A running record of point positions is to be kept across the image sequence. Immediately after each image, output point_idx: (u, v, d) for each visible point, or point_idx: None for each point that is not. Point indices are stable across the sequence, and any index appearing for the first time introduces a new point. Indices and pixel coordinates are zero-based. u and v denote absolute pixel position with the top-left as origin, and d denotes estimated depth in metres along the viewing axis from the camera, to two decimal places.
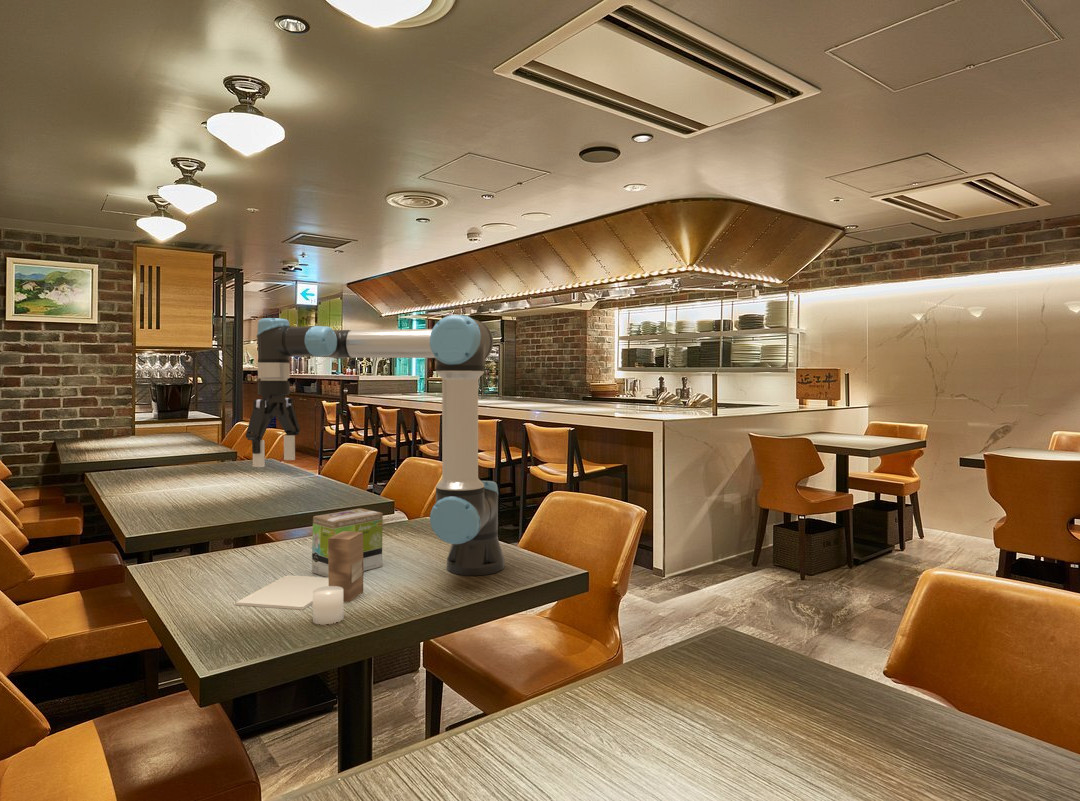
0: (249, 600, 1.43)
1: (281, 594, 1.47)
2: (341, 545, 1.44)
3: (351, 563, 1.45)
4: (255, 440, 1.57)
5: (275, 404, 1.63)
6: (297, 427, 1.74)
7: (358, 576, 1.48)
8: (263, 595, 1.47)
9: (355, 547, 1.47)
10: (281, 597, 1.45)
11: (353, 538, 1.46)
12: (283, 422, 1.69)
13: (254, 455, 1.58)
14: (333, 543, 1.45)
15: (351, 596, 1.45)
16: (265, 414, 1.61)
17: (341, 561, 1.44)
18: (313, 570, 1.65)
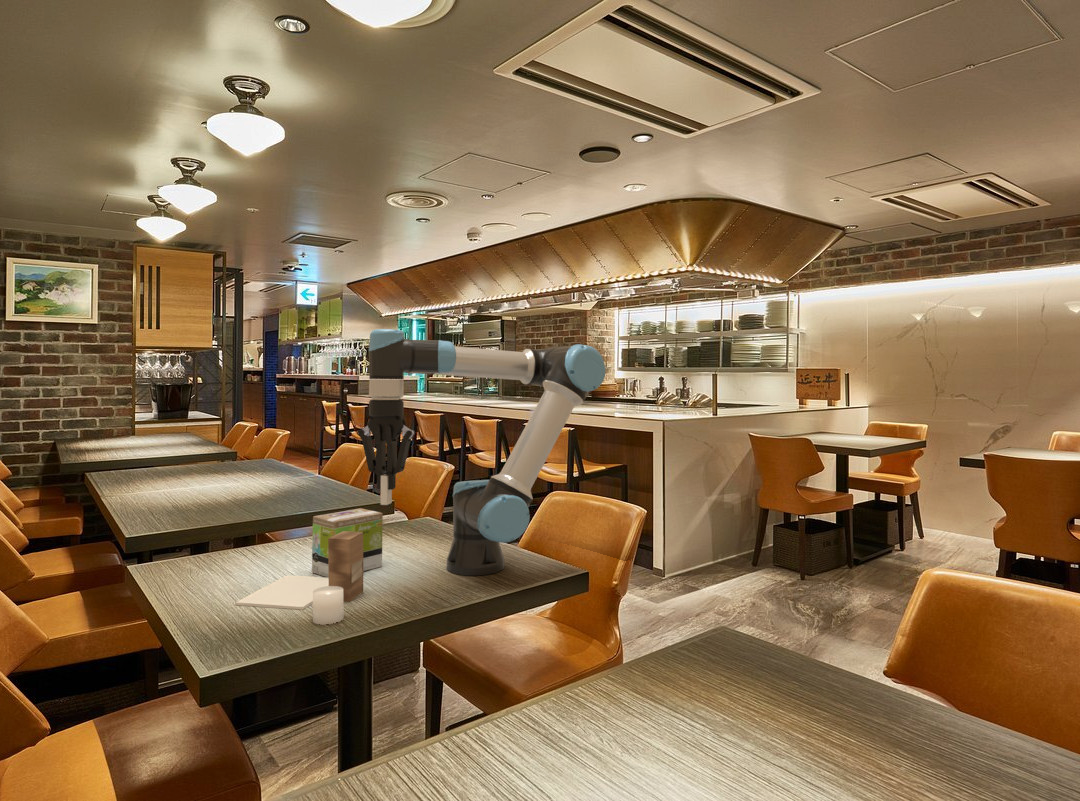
0: (249, 600, 1.43)
1: (281, 594, 1.47)
2: (341, 545, 1.44)
3: (351, 563, 1.45)
4: None
5: None
6: (397, 466, 1.44)
7: (358, 576, 1.48)
8: (263, 595, 1.47)
9: (355, 547, 1.47)
10: (281, 597, 1.45)
11: (353, 538, 1.46)
12: None
13: None
14: (333, 543, 1.45)
15: (351, 596, 1.45)
16: None
17: (341, 561, 1.44)
18: (313, 570, 1.65)
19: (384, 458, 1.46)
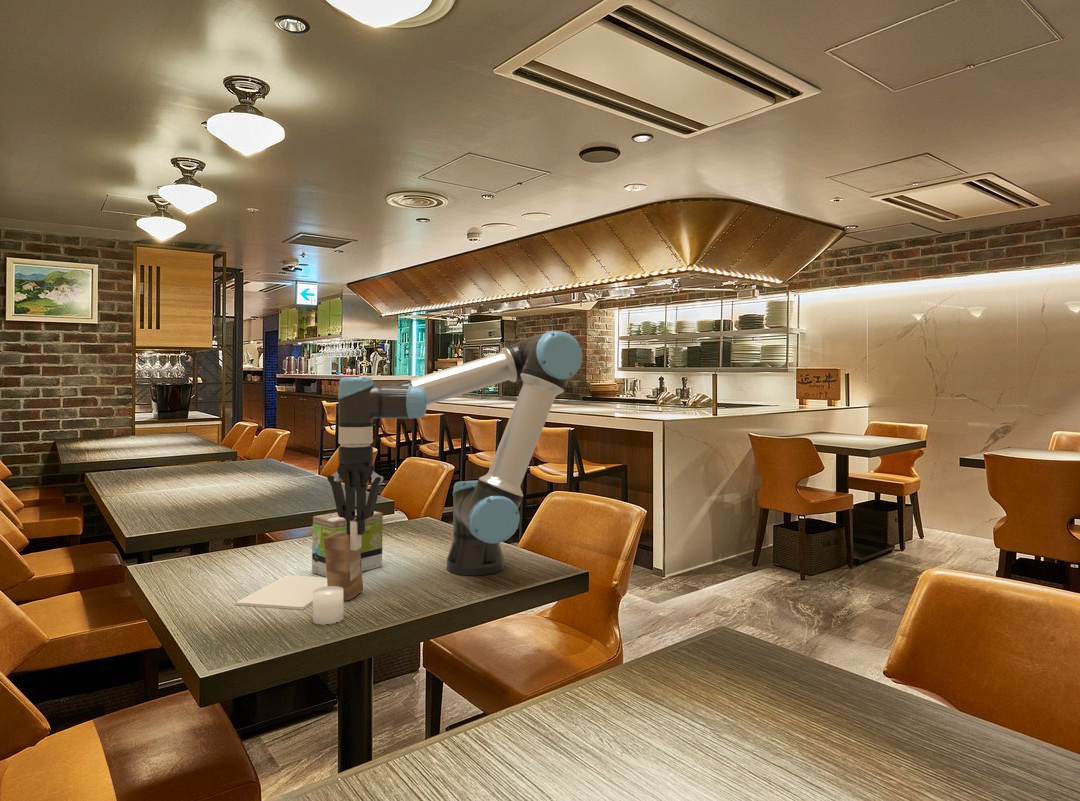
0: (249, 600, 1.43)
1: (281, 594, 1.47)
2: (337, 544, 1.44)
3: (348, 561, 1.45)
4: None
5: None
6: (366, 512, 1.45)
7: (357, 574, 1.48)
8: (263, 595, 1.47)
9: None
10: (281, 597, 1.45)
11: (349, 536, 1.46)
12: None
13: None
14: (329, 543, 1.45)
15: (351, 595, 1.45)
16: None
17: (338, 560, 1.44)
18: (313, 570, 1.65)
19: (354, 503, 1.48)
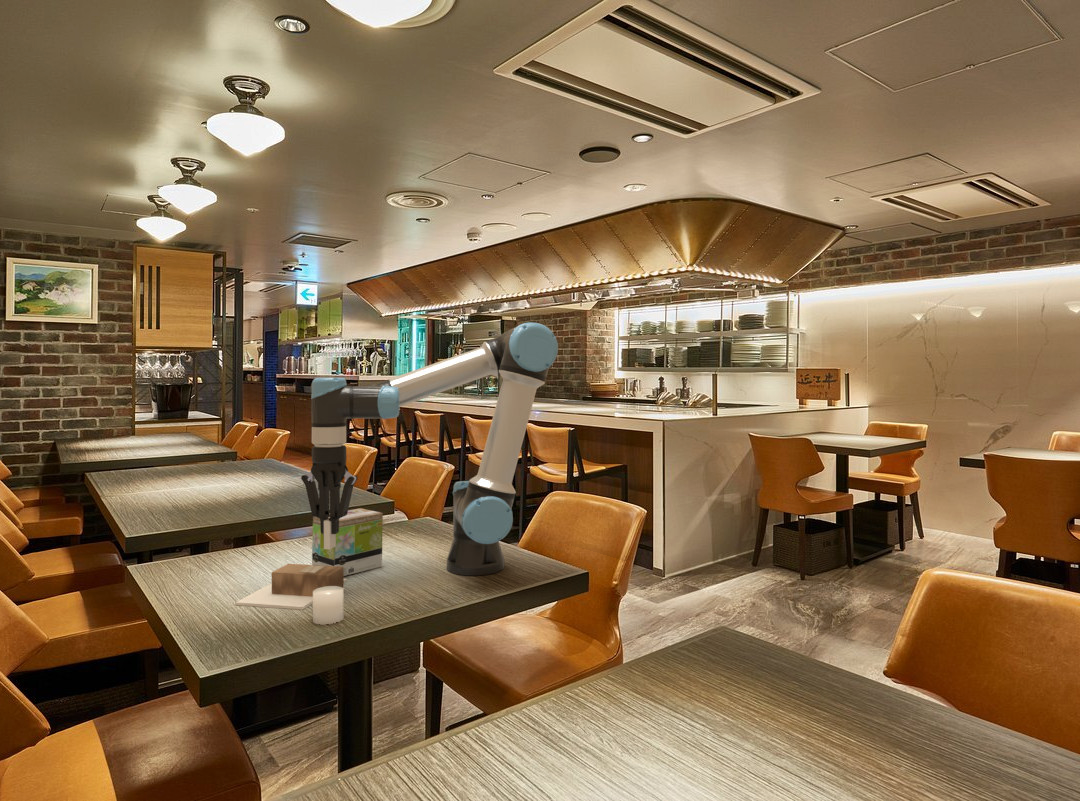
0: (249, 600, 1.43)
1: None
2: (277, 580, 1.47)
3: (297, 572, 1.47)
4: None
5: None
6: (339, 511, 1.47)
7: (319, 568, 1.50)
8: (263, 595, 1.47)
9: (288, 569, 1.50)
10: (281, 597, 1.45)
11: (278, 569, 1.49)
12: None
13: None
14: (276, 588, 1.47)
15: (328, 573, 1.46)
16: None
17: (291, 581, 1.47)
18: None
19: (328, 503, 1.49)
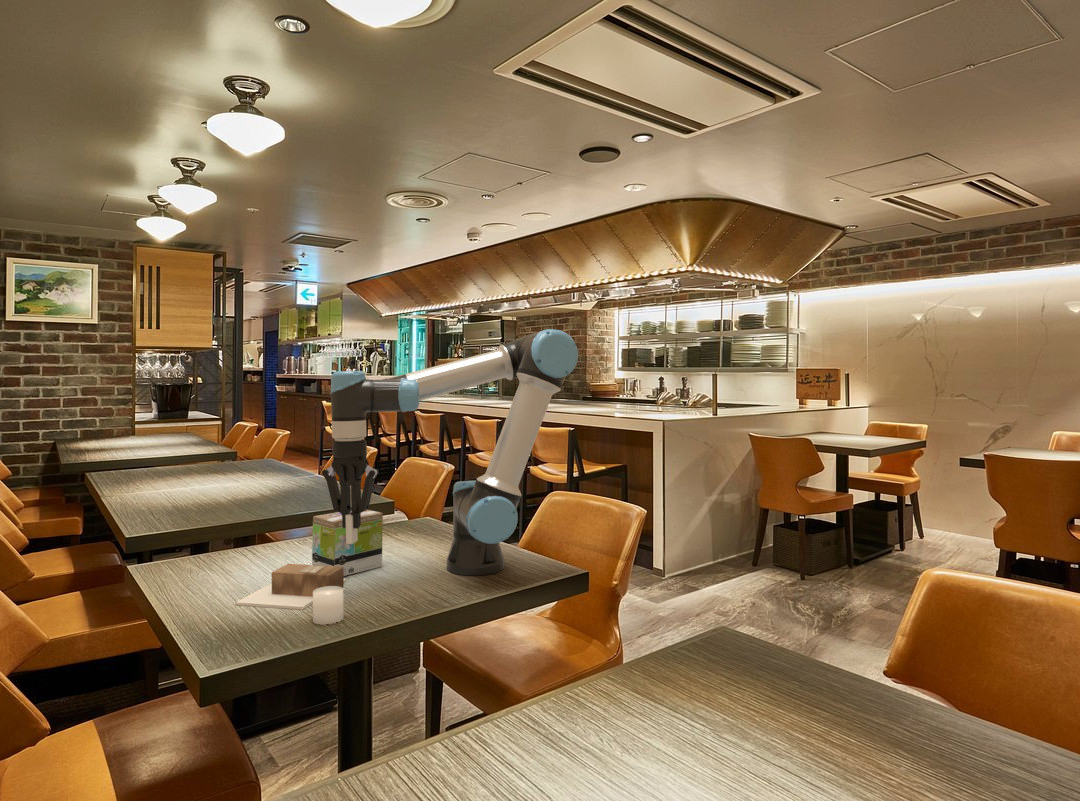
0: (249, 600, 1.43)
1: None
2: (277, 580, 1.47)
3: (297, 572, 1.47)
4: None
5: None
6: (361, 505, 1.46)
7: (319, 568, 1.50)
8: (263, 595, 1.47)
9: (288, 569, 1.50)
10: (281, 597, 1.45)
11: (278, 569, 1.49)
12: None
13: None
14: (276, 588, 1.47)
15: (328, 573, 1.46)
16: None
17: (291, 581, 1.47)
18: None
19: (349, 497, 1.48)
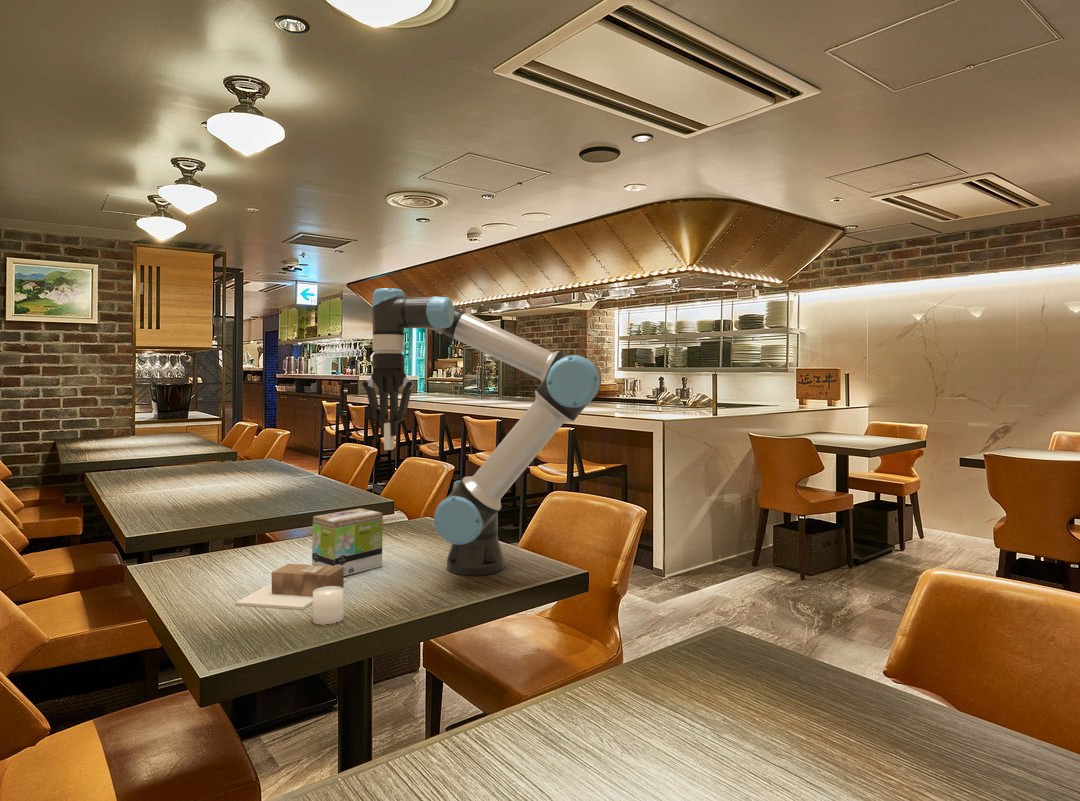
0: (249, 600, 1.43)
1: None
2: (277, 580, 1.47)
3: (297, 572, 1.47)
4: None
5: None
6: (398, 414, 1.57)
7: (319, 568, 1.50)
8: (263, 595, 1.47)
9: (288, 569, 1.50)
10: (281, 597, 1.45)
11: (278, 569, 1.49)
12: None
13: None
14: (276, 588, 1.47)
15: (328, 573, 1.46)
16: None
17: (291, 581, 1.47)
18: None
19: (387, 408, 1.59)
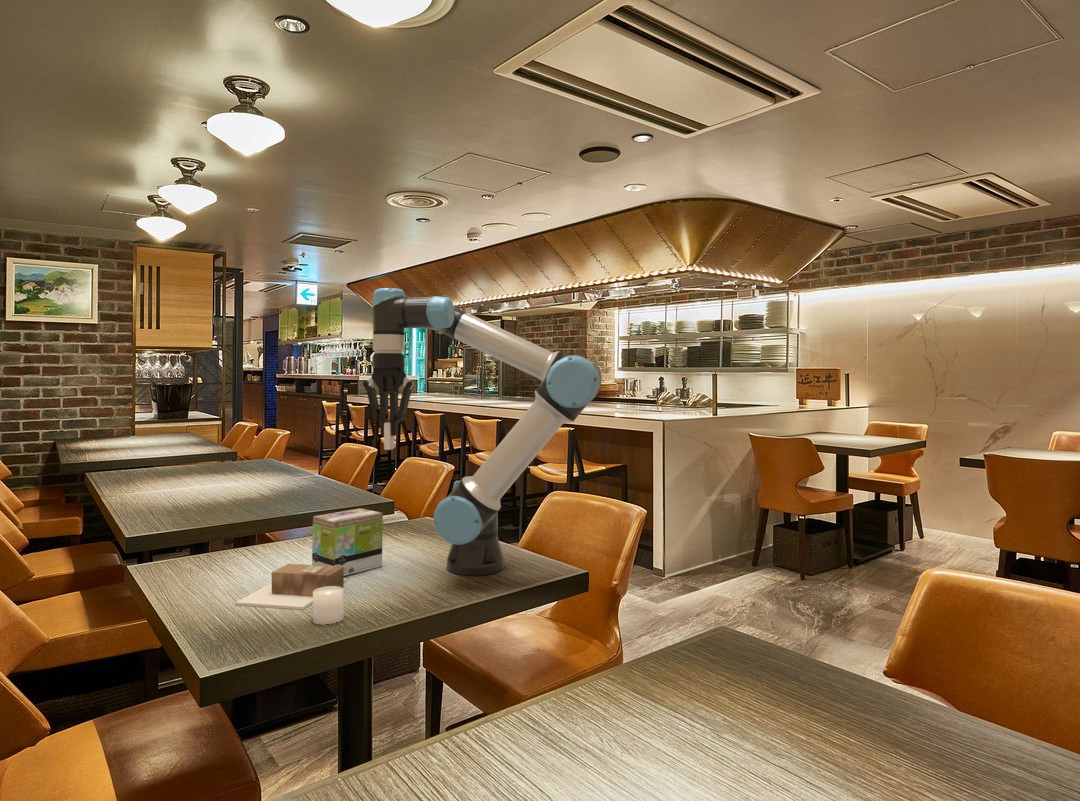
0: (249, 600, 1.43)
1: None
2: (277, 580, 1.47)
3: (297, 572, 1.47)
4: None
5: None
6: (399, 414, 1.57)
7: (319, 568, 1.50)
8: (263, 595, 1.47)
9: (288, 569, 1.50)
10: (281, 597, 1.45)
11: (278, 569, 1.49)
12: None
13: None
14: (276, 588, 1.47)
15: (328, 573, 1.46)
16: None
17: (291, 581, 1.47)
18: None
19: (387, 407, 1.59)
